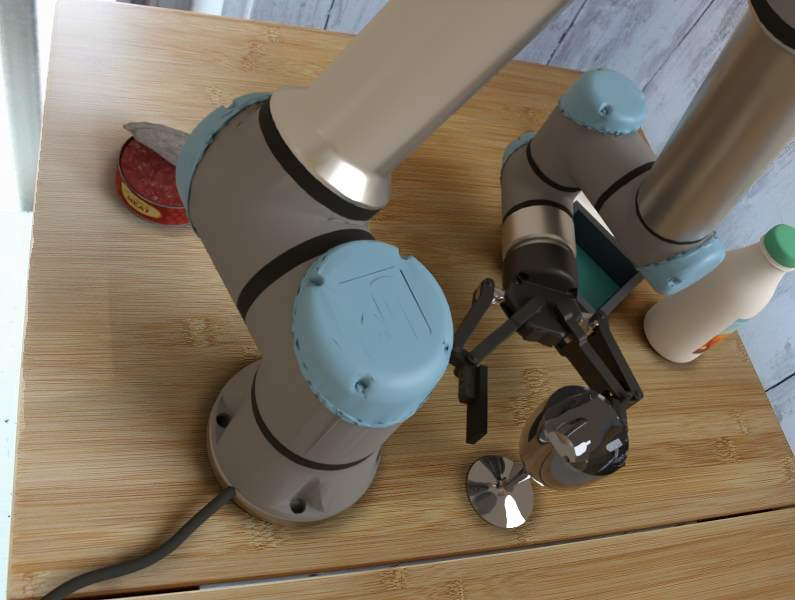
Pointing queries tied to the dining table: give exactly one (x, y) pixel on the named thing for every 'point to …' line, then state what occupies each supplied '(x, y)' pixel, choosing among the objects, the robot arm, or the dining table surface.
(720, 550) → the dining table surface
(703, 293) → the milk bottle
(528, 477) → the wine glass
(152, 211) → the canned food
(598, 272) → the dark grey open box
